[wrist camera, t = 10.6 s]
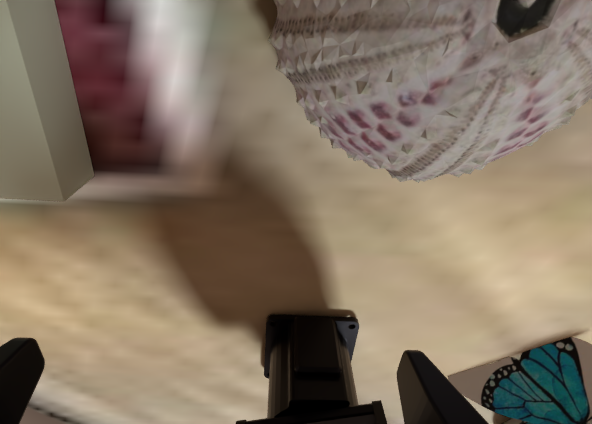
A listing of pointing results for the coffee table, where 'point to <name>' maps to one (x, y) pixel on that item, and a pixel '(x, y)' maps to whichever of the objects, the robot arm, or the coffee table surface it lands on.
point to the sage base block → (38, 107)
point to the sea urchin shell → (435, 76)
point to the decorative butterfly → (535, 384)
